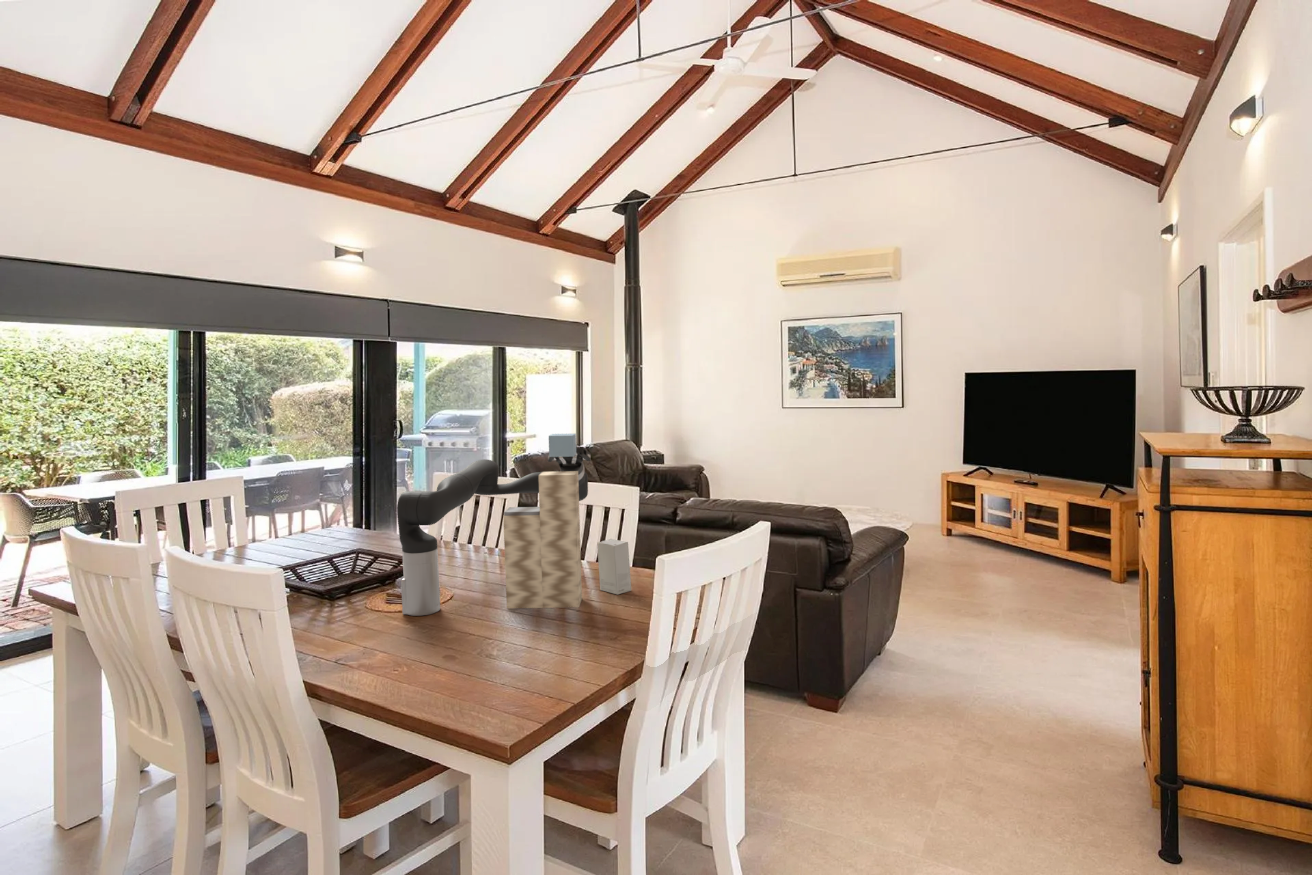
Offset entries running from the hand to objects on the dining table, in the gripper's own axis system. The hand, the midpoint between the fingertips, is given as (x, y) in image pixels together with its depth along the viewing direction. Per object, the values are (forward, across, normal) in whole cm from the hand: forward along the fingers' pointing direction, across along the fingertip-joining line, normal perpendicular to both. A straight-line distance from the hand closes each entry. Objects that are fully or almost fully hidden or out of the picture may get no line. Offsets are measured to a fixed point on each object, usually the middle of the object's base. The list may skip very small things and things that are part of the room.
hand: (565, 444), depth 218 cm
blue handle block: (0, 0, +3) cm, 3 cm away
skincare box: (-17, +14, +40) cm, 46 cm away
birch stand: (-7, -5, +46) cm, 47 cm away
